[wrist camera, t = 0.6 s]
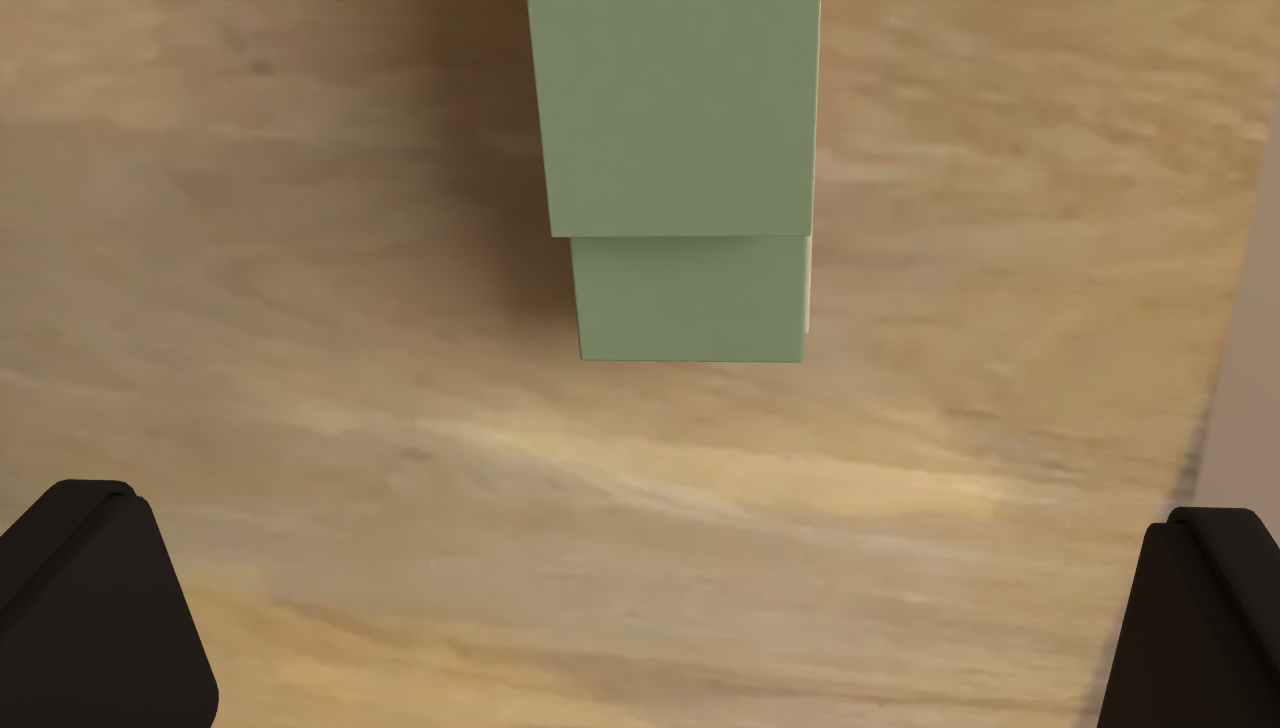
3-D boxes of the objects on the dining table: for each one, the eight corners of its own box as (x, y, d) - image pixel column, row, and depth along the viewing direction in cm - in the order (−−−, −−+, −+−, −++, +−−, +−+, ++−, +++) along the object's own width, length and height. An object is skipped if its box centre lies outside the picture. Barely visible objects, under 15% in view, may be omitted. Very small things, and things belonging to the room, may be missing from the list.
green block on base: (541, -311, 23) (477, -332, 18) (829, -332, 22) (848, -360, 17) (594, 310, 31) (559, 417, 26) (807, 310, 30) (814, 421, 25)
